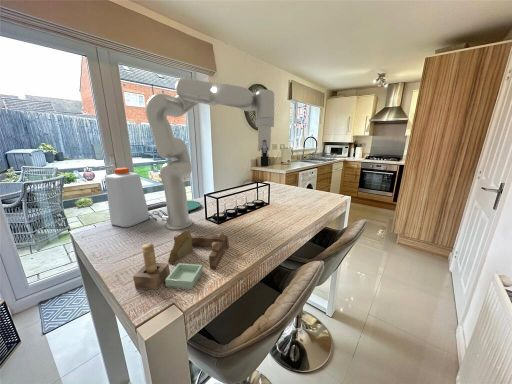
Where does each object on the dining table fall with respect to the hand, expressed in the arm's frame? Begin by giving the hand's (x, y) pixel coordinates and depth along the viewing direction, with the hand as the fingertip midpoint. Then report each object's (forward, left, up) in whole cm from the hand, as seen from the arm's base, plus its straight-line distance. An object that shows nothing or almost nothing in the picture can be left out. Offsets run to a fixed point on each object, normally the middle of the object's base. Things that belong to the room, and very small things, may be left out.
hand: (264, 164), depth 91 cm
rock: (-29, -26, -31) cm, 50 cm away
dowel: (-31, -40, -30) cm, 59 cm away
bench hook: (-24, -25, -30) cm, 46 cm away
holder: (-31, -40, -30) cm, 59 cm away
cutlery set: (-55, +21, -31) cm, 67 cm away
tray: (-22, -38, -30) cm, 53 cm away
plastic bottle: (-71, +3, -31) cm, 77 cm away
